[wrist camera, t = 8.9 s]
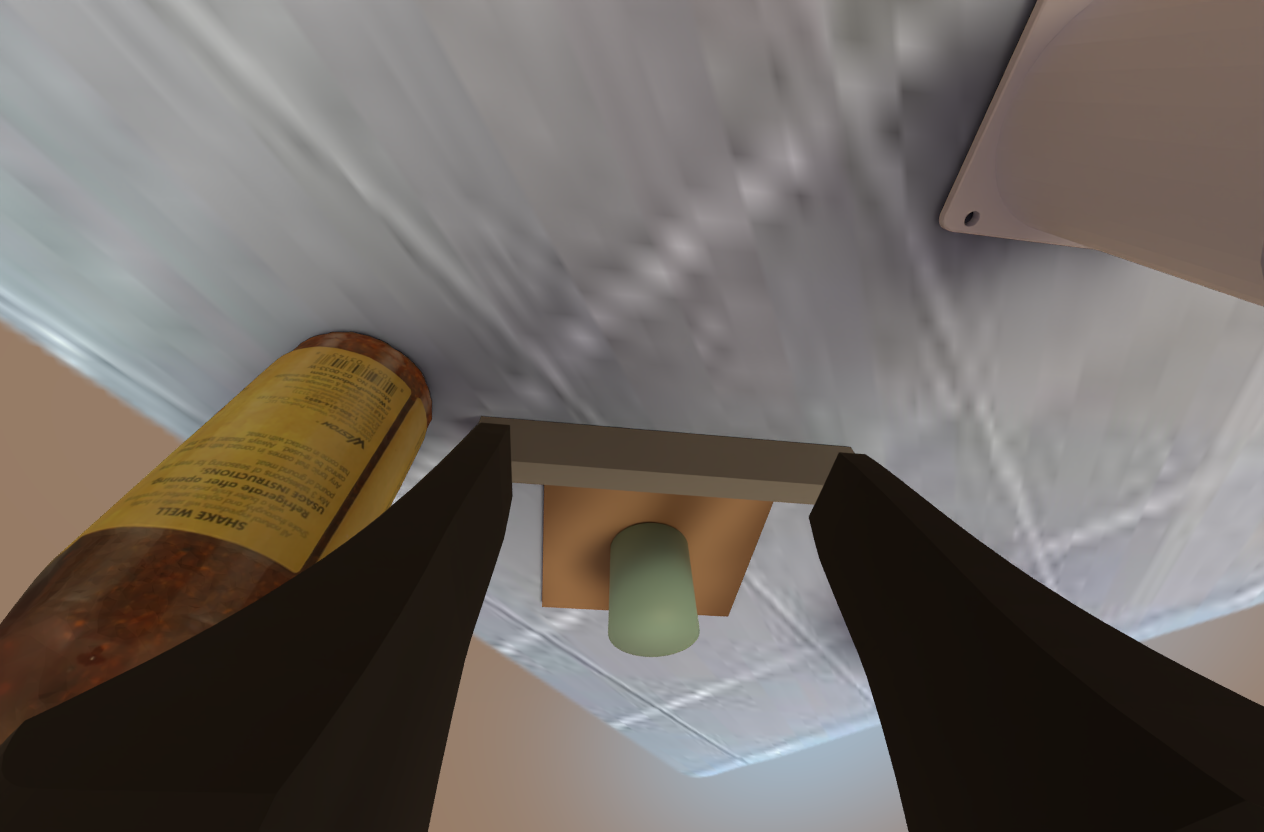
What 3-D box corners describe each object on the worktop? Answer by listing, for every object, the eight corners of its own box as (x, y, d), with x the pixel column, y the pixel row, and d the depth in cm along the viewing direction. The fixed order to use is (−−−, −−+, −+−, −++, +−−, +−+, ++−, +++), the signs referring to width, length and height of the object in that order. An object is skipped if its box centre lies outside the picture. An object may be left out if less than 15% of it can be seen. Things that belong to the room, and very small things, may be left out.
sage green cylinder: (680, 516, 25) (691, 601, 21) (693, 565, 28) (705, 650, 24) (601, 530, 26) (597, 615, 22) (621, 577, 29) (621, 661, 24)
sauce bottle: (260, 344, 20) (-1398, 1524, 4) (395, 307, 19) (-950, 1617, 3) (351, 460, 24) (-265, 1309, 7) (467, 433, 23) (72, 1321, 6)
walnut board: (779, 474, 25) (782, 479, 24) (726, 611, 31) (727, 616, 31) (545, 456, 24) (544, 461, 23) (543, 601, 30) (542, 606, 30)
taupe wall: (850, 447, 24) (877, 489, 21) (842, 465, 24) (867, 508, 22) (481, 416, 22) (463, 457, 20) (483, 436, 23) (466, 479, 20)
